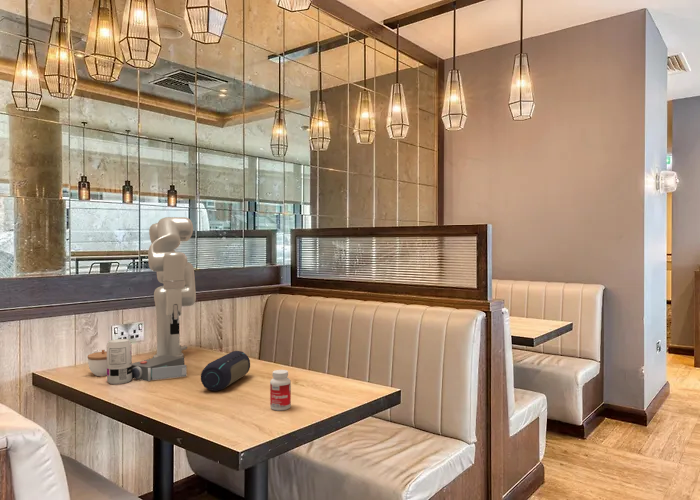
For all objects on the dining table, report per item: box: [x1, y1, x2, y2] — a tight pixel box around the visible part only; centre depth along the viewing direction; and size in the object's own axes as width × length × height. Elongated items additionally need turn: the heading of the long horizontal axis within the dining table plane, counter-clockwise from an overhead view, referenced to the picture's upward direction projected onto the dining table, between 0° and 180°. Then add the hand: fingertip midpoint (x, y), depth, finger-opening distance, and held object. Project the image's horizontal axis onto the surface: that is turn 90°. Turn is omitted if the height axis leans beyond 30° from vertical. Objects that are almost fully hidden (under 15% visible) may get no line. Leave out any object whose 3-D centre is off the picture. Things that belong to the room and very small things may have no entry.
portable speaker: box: [200, 350, 251, 392], centre depth 183 cm, size 25×10×10 cm, turn 169°
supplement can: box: [106, 338, 133, 385], centre depth 187 cm, size 8×8×15 cm
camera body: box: [131, 355, 185, 382], centre depth 197 cm, size 19×12×6 cm, turn 154°
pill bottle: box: [269, 369, 292, 411], centre depth 156 cm, size 6×6×11 cm
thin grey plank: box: [151, 364, 188, 381], centre depth 190 cm, size 12×1×4 cm, turn 114°
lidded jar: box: [87, 349, 107, 377], centre depth 198 cm, size 11×11×9 cm
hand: (174, 333), depth 194 cm, fingers closed
